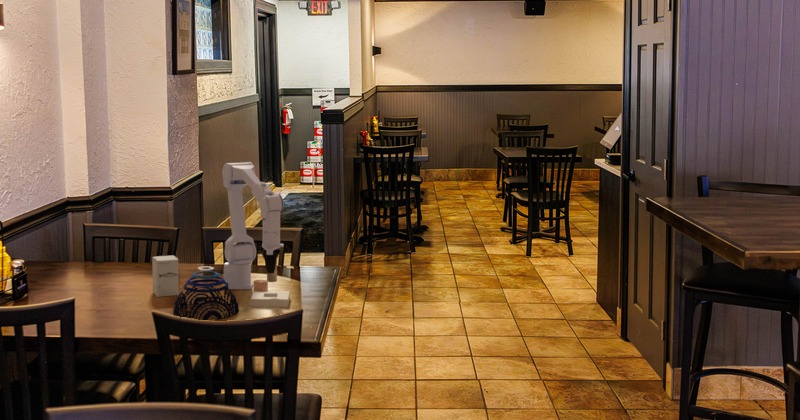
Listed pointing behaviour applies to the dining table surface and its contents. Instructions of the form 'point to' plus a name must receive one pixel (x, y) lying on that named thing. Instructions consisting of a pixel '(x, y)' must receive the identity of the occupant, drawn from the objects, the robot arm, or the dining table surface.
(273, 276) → the beech pin
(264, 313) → the dining table surface
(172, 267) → the supplement box
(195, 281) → the decorative bowl
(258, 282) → the terracotta peg
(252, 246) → the robot arm
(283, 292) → the hole plate
